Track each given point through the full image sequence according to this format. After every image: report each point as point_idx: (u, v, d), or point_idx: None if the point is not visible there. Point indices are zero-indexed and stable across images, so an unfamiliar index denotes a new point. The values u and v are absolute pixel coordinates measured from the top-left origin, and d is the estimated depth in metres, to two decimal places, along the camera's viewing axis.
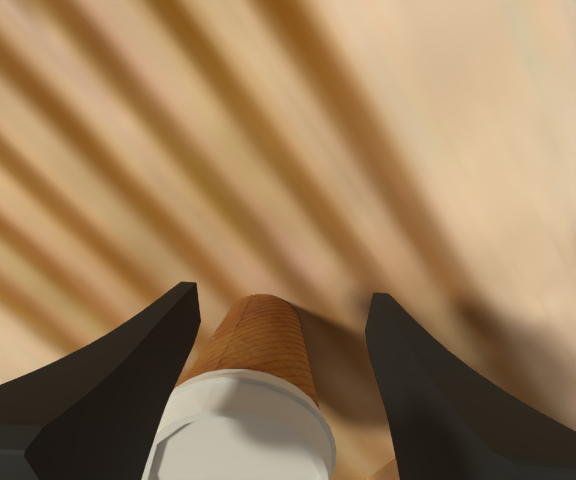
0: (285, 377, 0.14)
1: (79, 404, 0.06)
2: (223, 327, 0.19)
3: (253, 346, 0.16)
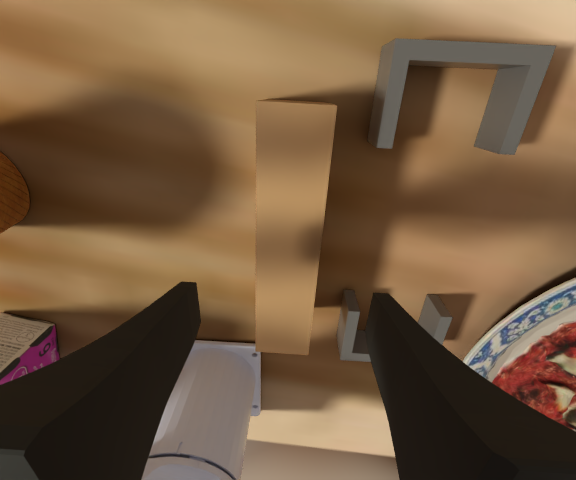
0: None
1: (79, 404, 0.06)
2: None
3: None
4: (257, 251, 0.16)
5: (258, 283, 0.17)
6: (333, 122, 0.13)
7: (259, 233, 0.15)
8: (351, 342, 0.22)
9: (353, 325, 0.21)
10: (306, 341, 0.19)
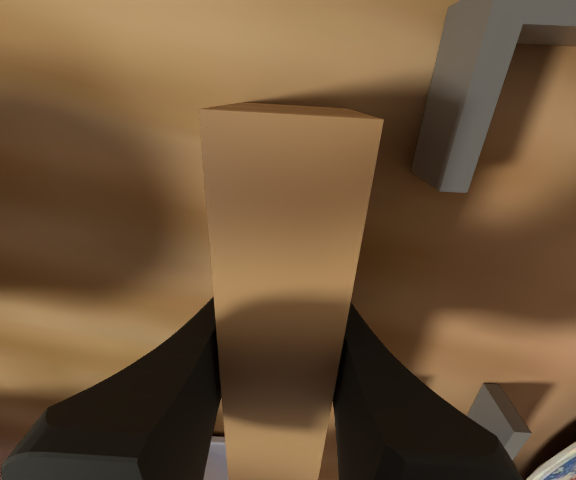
0: None
1: (169, 410, 0.06)
2: None
3: None
4: (223, 376, 0.09)
5: (228, 420, 0.10)
6: (373, 156, 0.06)
7: (224, 351, 0.08)
8: None
9: None
10: None
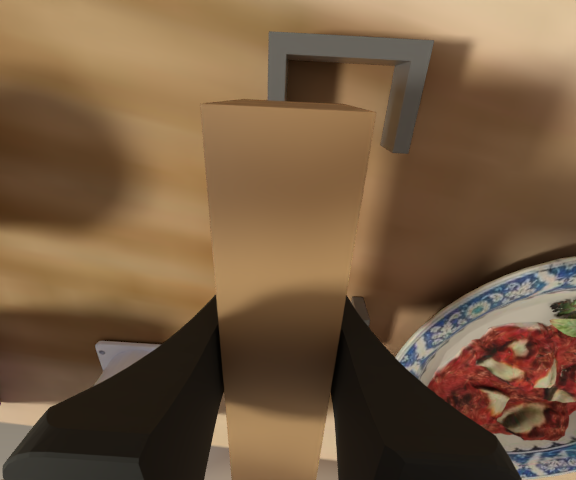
0: None
1: (170, 410, 0.06)
2: None
3: None
4: (225, 364, 0.09)
5: (230, 407, 0.10)
6: (366, 147, 0.06)
7: (226, 339, 0.09)
8: None
9: None
10: (310, 477, 0.12)
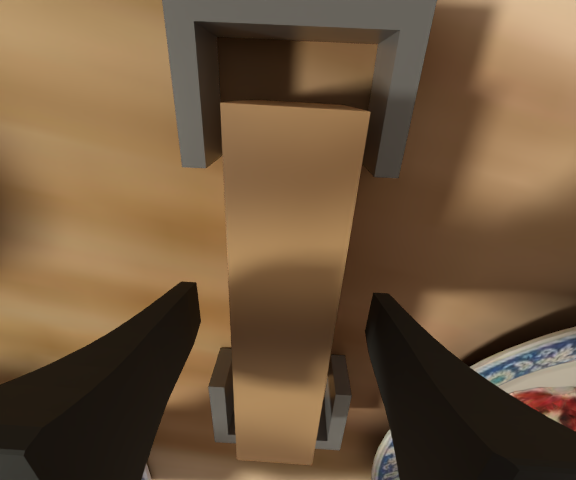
0: None
1: (79, 404, 0.06)
2: None
3: None
4: (233, 339, 0.10)
5: (237, 380, 0.11)
6: (362, 142, 0.07)
7: (235, 314, 0.10)
8: (223, 422, 0.16)
9: (220, 403, 0.15)
10: (309, 449, 0.13)
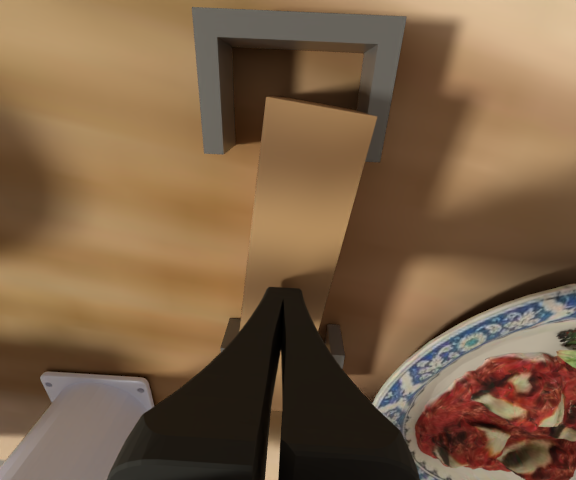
0: None
1: (261, 416, 0.06)
2: None
3: None
4: (246, 291, 0.12)
5: None
6: (368, 139, 0.09)
7: (251, 270, 0.12)
8: None
9: None
10: None
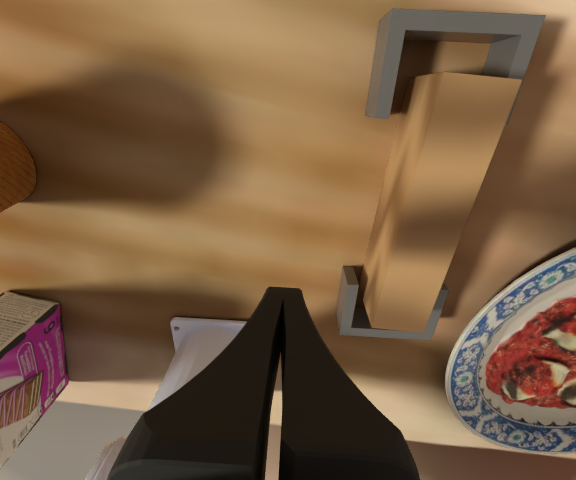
0: None
1: (261, 416, 0.06)
2: None
3: None
4: (402, 224, 0.16)
5: (394, 257, 0.17)
6: (513, 96, 0.13)
7: (409, 206, 0.16)
8: (350, 316, 0.22)
9: (352, 299, 0.21)
10: (425, 318, 0.19)
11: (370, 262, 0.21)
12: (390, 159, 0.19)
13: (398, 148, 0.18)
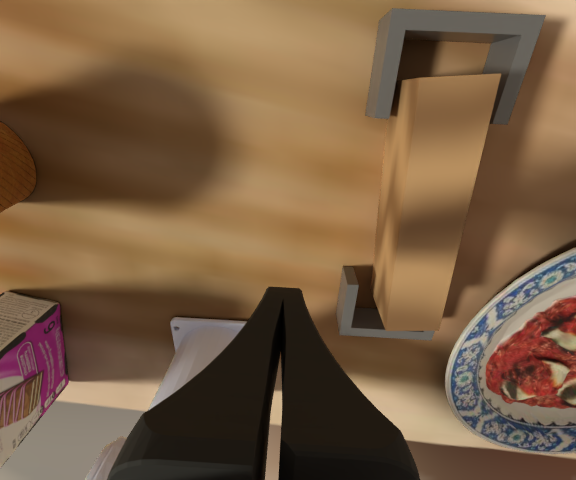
0: None
1: (261, 416, 0.06)
2: None
3: None
4: (401, 228, 0.16)
5: (398, 261, 0.17)
6: (495, 90, 0.13)
7: (406, 210, 0.16)
8: (350, 316, 0.22)
9: (352, 299, 0.21)
10: (438, 316, 0.19)
11: (377, 265, 0.21)
12: (384, 162, 0.19)
13: (390, 152, 0.18)
